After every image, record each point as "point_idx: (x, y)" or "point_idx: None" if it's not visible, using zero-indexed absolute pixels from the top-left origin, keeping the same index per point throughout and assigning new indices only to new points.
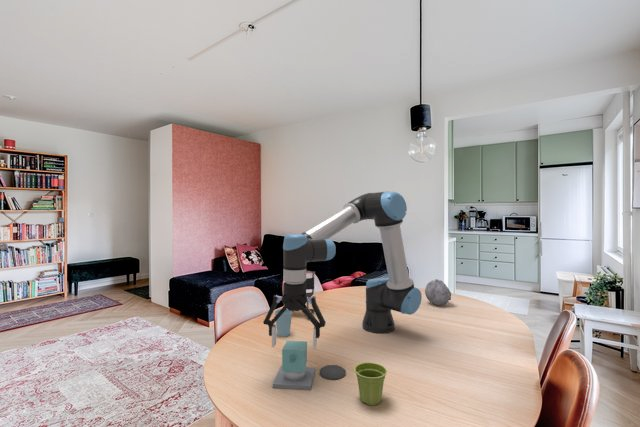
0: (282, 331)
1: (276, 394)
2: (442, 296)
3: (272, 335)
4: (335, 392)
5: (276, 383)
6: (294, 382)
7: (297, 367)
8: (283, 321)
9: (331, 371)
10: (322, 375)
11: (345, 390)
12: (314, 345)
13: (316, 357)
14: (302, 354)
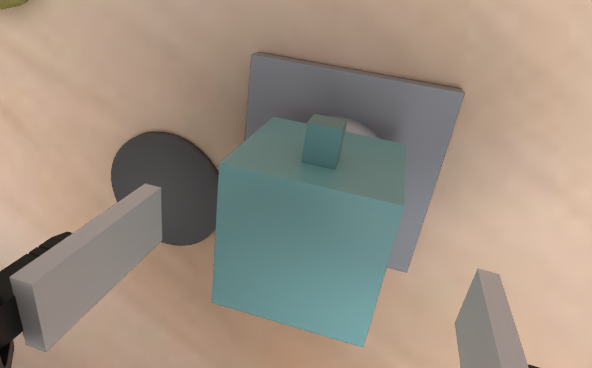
0: None
1: (441, 19)
2: None
3: (516, 354)
4: (145, 23)
5: (440, 96)
6: (337, 98)
7: (304, 133)
8: None
9: (169, 191)
10: (205, 163)
11: (105, 38)
12: (134, 199)
13: (243, 323)
14: (243, 154)
